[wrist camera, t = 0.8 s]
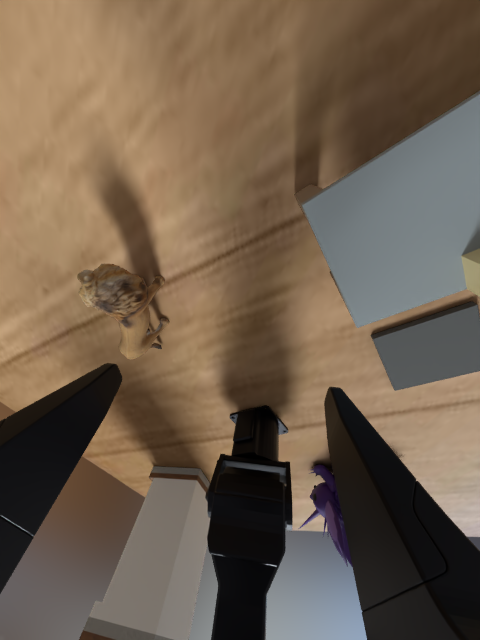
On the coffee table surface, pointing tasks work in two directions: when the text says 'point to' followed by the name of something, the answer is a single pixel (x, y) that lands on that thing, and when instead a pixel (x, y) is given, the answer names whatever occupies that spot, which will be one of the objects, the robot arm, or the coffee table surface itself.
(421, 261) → the small grey table
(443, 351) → the mat
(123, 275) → the lion figurine
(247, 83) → the coffee table surface
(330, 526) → the creature
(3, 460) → the robot arm
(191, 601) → the white square tower
